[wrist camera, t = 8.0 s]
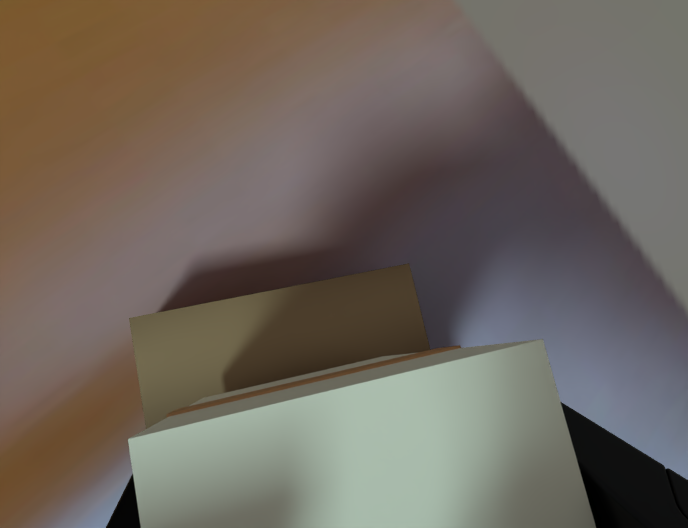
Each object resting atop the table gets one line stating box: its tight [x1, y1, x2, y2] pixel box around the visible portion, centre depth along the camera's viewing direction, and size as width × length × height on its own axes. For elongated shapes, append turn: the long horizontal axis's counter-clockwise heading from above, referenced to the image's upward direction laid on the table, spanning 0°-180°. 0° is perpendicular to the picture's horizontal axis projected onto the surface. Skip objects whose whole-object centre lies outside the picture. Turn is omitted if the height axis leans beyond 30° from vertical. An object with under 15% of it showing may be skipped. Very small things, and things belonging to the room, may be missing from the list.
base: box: [129, 264, 430, 429], centre depth 19 cm, size 10×10×3 cm
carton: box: [128, 339, 596, 528], centre depth 12 cm, size 4×6×10 cm
